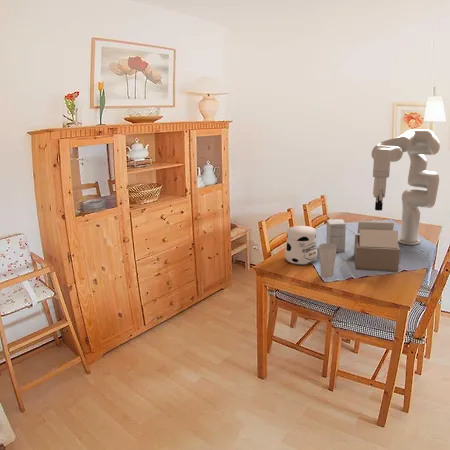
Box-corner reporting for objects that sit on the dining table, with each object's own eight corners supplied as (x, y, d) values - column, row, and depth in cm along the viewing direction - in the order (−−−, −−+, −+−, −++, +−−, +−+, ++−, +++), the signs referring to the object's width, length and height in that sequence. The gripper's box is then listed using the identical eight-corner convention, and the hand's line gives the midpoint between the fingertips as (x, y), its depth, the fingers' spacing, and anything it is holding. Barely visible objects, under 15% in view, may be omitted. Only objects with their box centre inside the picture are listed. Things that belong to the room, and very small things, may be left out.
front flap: (359, 229, 195) (359, 229, 194) (397, 230, 190) (397, 230, 190) (359, 246, 194) (359, 246, 193) (397, 248, 189) (397, 248, 189)
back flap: (357, 233, 212) (357, 233, 212) (392, 234, 207) (392, 234, 208) (358, 222, 206) (358, 221, 207) (394, 223, 202) (394, 222, 202)
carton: (354, 254, 216) (355, 234, 213) (392, 256, 211) (394, 236, 207) (355, 269, 198) (356, 247, 194) (398, 272, 193) (400, 249, 189)
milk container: (315, 268, 201) (316, 236, 196) (282, 266, 207) (282, 234, 201) (318, 256, 217) (319, 225, 212) (287, 254, 222) (287, 224, 217)
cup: (336, 279, 189) (337, 249, 184) (318, 278, 190) (319, 249, 186) (335, 272, 196) (336, 243, 192) (318, 271, 198) (318, 242, 194)
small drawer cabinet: (342, 246, 230) (343, 218, 225) (345, 251, 221) (346, 223, 216) (325, 246, 231) (326, 219, 226) (328, 252, 222) (329, 224, 217)
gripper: (371, 171, 198) (369, 205, 204) (374, 176, 184) (371, 213, 190) (387, 171, 196) (384, 206, 202) (391, 176, 182) (388, 214, 188)
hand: (378, 209), depth 196 cm, fingers closed
